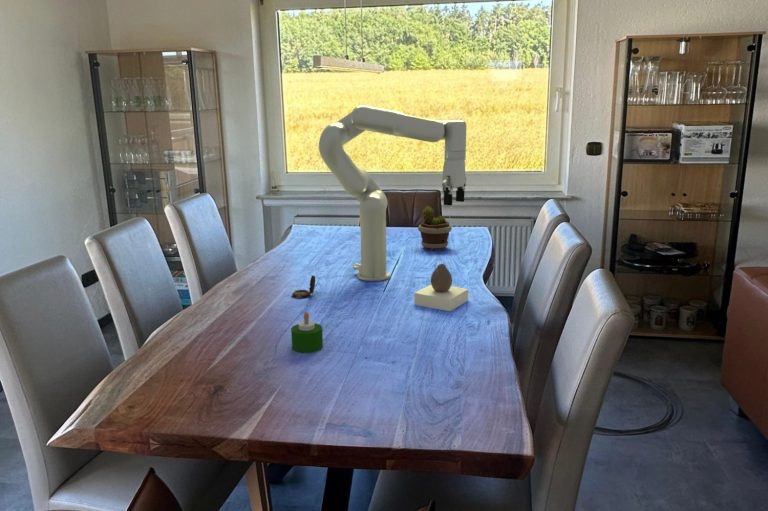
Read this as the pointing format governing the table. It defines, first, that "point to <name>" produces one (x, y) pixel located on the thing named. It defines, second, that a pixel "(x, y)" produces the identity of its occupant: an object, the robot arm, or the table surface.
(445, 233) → the flowerpot
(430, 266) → the table surface
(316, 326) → the candle
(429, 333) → the table surface
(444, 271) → the vase
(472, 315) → the table surface
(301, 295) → the compass
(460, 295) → the plinth
